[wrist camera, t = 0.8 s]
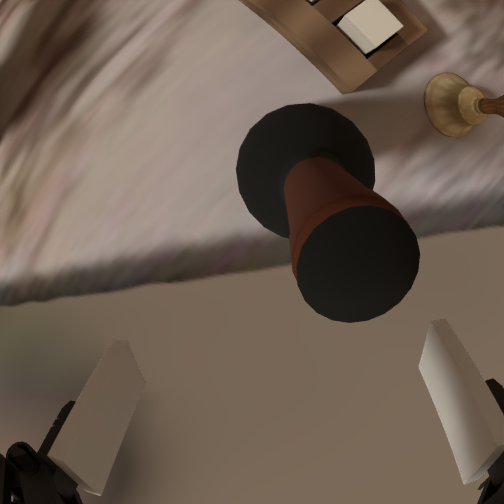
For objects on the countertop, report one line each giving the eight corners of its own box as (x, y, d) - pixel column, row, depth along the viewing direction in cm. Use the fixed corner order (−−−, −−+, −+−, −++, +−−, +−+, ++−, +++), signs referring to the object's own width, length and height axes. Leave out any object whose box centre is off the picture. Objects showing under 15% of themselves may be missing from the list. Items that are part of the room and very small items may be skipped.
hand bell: (420, 128, 31) (504, 145, 17) (426, 64, 28) (508, 48, 13) (472, 143, 31) (557, 170, 17) (478, 84, 28) (564, 86, 13)
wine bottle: (323, 113, 32) (523, 122, 5) (319, 178, 35) (446, 382, 8) (255, 109, 32) (172, 70, 5) (253, 175, 35) (192, 385, 8)
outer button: (334, 28, 25) (344, 15, 21) (359, 9, 24) (373, -5, 19) (361, 56, 26) (376, 47, 22) (386, 36, 25) (403, 26, 20)
